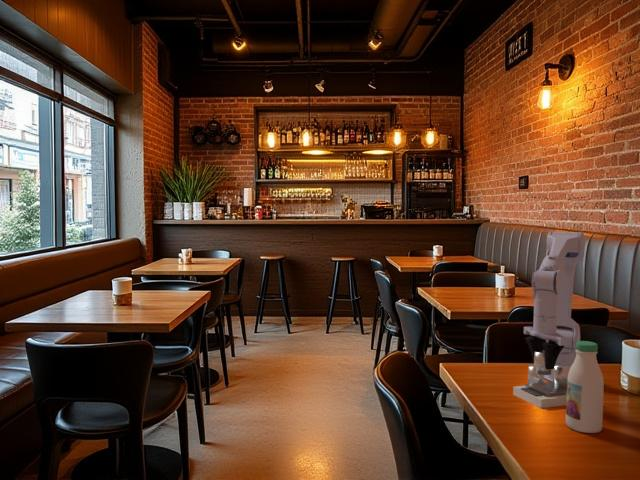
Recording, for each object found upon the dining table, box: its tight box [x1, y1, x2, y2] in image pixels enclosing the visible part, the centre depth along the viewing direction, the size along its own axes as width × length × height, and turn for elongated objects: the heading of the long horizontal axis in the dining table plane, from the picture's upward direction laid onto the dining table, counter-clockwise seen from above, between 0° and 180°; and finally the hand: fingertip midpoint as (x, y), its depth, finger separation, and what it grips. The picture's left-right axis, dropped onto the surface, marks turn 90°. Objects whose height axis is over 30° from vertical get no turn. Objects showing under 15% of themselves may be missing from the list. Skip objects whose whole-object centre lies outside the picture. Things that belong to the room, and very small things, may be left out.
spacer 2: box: [527, 364, 545, 384], centre depth 163 cm, size 4×4×6 cm
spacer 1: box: [533, 349, 552, 375], centre depth 151 cm, size 4×4×6 cm
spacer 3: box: [553, 364, 571, 389], centre depth 153 cm, size 4×4×6 cm
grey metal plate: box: [525, 381, 567, 396], centre depth 152 cm, size 11×8×1 cm
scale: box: [512, 385, 567, 409], centre depth 152 cm, size 14×11×2 cm
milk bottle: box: [565, 340, 605, 434], centre depth 132 cm, size 8×8×20 cm
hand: (543, 366), depth 151 cm, fingers closed on spacer 1, 4 cm apart
